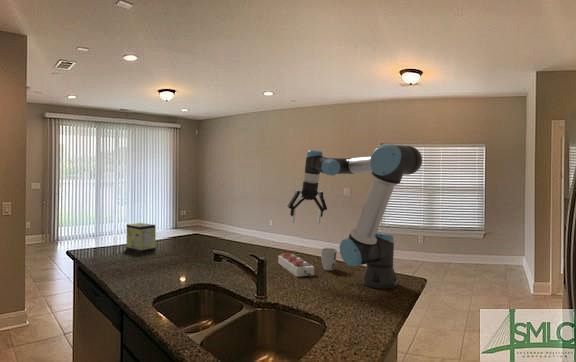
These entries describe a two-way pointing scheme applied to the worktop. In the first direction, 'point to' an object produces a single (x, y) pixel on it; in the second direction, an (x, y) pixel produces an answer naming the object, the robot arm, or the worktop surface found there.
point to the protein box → (141, 237)
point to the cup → (328, 258)
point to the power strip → (296, 266)
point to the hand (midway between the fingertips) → (305, 222)
